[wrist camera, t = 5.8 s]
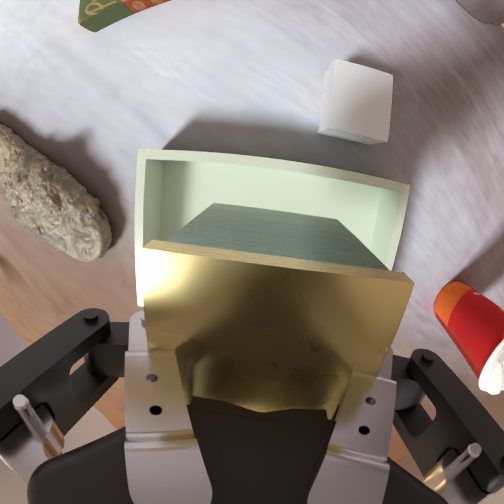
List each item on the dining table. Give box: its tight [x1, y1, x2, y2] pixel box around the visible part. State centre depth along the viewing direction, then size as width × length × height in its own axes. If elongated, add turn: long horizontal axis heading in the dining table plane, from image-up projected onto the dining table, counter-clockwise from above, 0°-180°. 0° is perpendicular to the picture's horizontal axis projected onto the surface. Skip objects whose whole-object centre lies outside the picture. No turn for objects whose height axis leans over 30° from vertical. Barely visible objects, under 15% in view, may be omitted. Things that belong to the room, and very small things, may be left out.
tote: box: [135, 149, 410, 307], centre depth 24 cm, size 22×14×5 cm, turn 83°
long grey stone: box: [0, 124, 112, 262], centre depth 24 cm, size 35×5×10 cm
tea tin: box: [141, 203, 414, 419], centre depth 10 cm, size 6×8×7 cm
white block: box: [317, 59, 393, 145], centre depth 20 cm, size 5×6×5 cm
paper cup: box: [434, 281, 504, 395], centre depth 21 cm, size 8×8×14 cm
